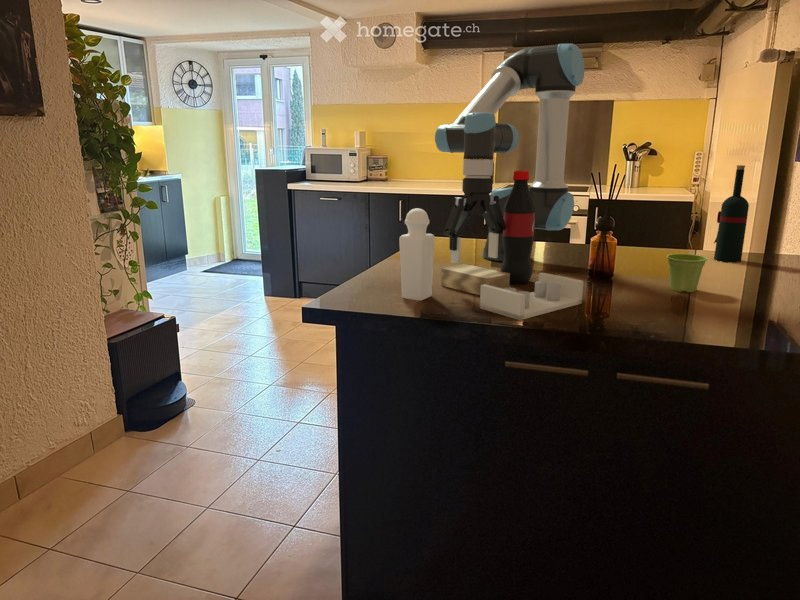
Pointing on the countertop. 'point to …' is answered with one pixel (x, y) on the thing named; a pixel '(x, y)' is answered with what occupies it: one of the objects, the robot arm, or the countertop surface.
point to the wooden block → (473, 278)
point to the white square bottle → (416, 257)
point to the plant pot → (685, 271)
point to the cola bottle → (518, 230)
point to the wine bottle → (732, 223)
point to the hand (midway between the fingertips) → (474, 260)
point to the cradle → (532, 297)
